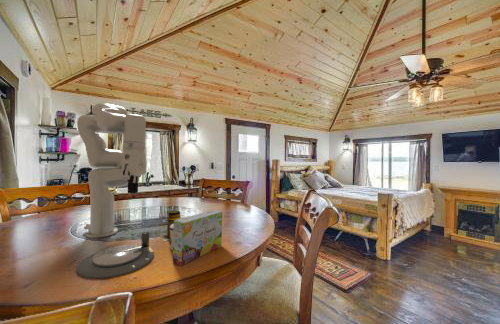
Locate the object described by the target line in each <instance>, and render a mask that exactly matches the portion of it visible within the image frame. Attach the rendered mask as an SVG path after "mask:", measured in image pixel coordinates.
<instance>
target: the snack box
mask: <svg viewBox="0 0 500 324" xmlns="http://www.w3.org/2000/svg"><path fill="white" fill-rule="evenodd" d="M222 233H223V211H222V210H221V211H220V210H216V209H211V210H209V211H205V212H201V213H197V214H194V215H193V214H192V215H190V216H187V217H186V216H185V217H183V218H182V217H181V219H178V220H174V227H173V250H172V263H175V264H177V265H179V266H184V265H186V264H188V263H190V262H191V261H192V262H193V261H194V260H196V259H198V258H200V257H202V256H204V255H207V254H208V253H210V252H213V251H214V250H216V249H218V248H221V247H222V241H223V240H222V237H223V234H222Z"/></svg>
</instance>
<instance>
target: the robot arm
mask: <svg viewBox="0 0 500 324" xmlns="http://www.w3.org/2000/svg"><path fill="white" fill-rule="evenodd" d="M91 111H92V114H83V115H80V116H79V117H78V118H77V123H76V124H77V125H76V126H77V132H78V134H79V136H80V138H81V140H82V141H83V143H84V147H85V151H86V152H85V153H86V156H87V160H88V161H87V162H88V163H89V167H92V168H94V169H91V170H90V172H88V175H87V179H88V184H89V191H90V193H89V194H90V210H89V211H90V214H89V215H90V222H89V223H87V224H85V226H84V227H83V229H84V230H87V232H86V233H85V236H86V238H91V239H95V238H96V239H97V238H99V239H100V238H104V237H109V236H113V235H115V234H117V233H118V231H119V230H118V228H117V227H115V195H114V193H113V192H112V191H111V190H110V189H109V188H116V187H117V188H118V187H125V186H127V193H128V194H137V193H139V182H140V178H141V177H142V176H143V175H145V174H146V171H147V168H146V167H147V165H146V164H147V163H146V160H147V159H146V152H145V150H146V128H147V127H146V125H147V120H146V117H145V116H143V115H140V114H132V113H128V111H127V110H126V108H124V107H123V106H121V105H120V106H119V105H115V104H110V103H104V102H102V103H97V104H95V105H93V106H92V109H91ZM98 133H100V134H109V135H112V134H113V135H114V134H123V139H122V140H123V143H122V145H123V146H122V150H123V151H121V150H119V149H109V148H107V145H106V142H105V140H104V139H103V138H102V137H101V136H100V135H99V134H98Z"/></svg>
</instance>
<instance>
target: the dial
mask: <svg viewBox="0 0 500 324" xmlns="http://www.w3.org/2000/svg"><path fill="white" fill-rule="evenodd" d="M137 245H138V244H122V245H115V246H111V247H108V248H104V249H101V250H100V251H97V252H98V253H97V252H95V253H96V254H95V255H94V256H93V265H94V266H97V267H103V268H107V267H116V266H121V265H125V264H128V263H131V262H133V261H135V260H137V259H138V258H139V257H140V256H141V255H142V251H144V250H148V249H149V247H150V232H149V231H148V232H147V231H146V232H144V231H143V232H142V233H141V245H140V246H137Z"/></svg>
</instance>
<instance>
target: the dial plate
mask: <svg viewBox="0 0 500 324" xmlns="http://www.w3.org/2000/svg"><path fill="white" fill-rule="evenodd" d="M136 245H137V246H141V245H139V244H136ZM98 252H99V251H97V252H94V253H93V254H90V255H88V256H86V257H85V258H83V259H82V260H81V261H80V262H79V263H78V265H77V267H76V270H77V274H78V275H80V276H81V277H84V278H87V279H106V278H107V279H108V278H113V277H114V278H115V277H119V276H122V275H126V274H130V273H133V272H135V271H138V270H140V269H142V268H143V267H145V266H147V265H148V264H150V262H152V260H153V259H154V255H155V252H154V250H153V249H152V247H150V246H149V249H148V250H144V251H142V255H141V256H140V257H139V258H138V259H137V260H135V261H133V262H131V263H128V264H125V265H121V266H116V267H107V268H103V267H97V266H94V265H93V256H94V255H95V254H96V253H98Z"/></svg>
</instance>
